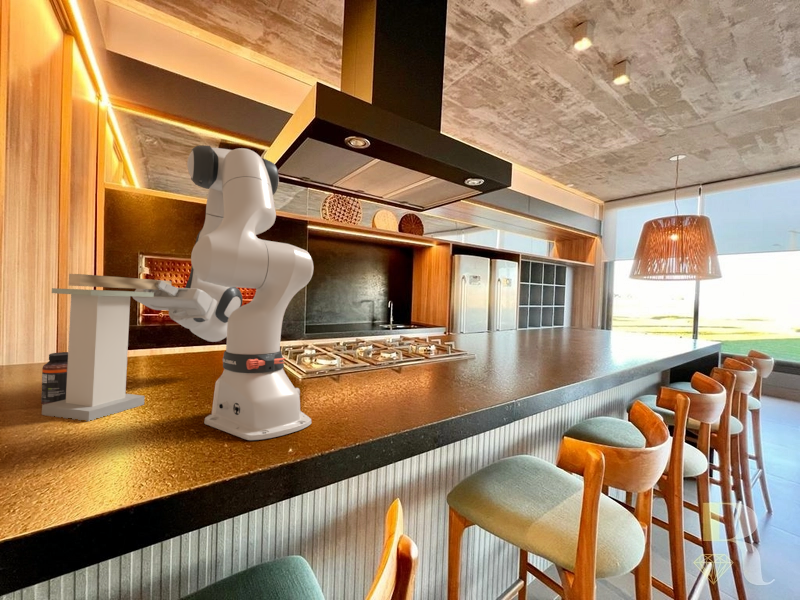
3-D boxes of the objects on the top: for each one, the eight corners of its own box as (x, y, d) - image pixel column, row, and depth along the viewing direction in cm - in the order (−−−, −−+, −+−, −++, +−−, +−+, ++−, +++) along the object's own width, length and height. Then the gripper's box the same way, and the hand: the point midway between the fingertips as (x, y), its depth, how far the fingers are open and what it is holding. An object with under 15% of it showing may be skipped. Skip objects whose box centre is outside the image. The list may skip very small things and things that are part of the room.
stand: (110, 396, 85) (116, 290, 85) (151, 402, 83) (157, 292, 83) (41, 414, 72) (48, 288, 72) (88, 421, 69) (95, 290, 69)
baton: (162, 289, 93) (162, 280, 93) (171, 290, 92) (171, 281, 92) (68, 285, 71) (69, 273, 71) (79, 285, 71) (79, 274, 71)
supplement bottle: (76, 397, 83) (79, 350, 83) (77, 404, 79) (80, 354, 79) (41, 402, 79) (43, 352, 79) (40, 408, 75) (42, 356, 75)
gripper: (161, 298, 103) (123, 271, 91) (222, 301, 99) (190, 273, 87) (151, 317, 100) (110, 291, 88) (213, 321, 96) (179, 294, 84)
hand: (150, 282), depth 88 cm, fingers closed on baton, 3 cm apart
